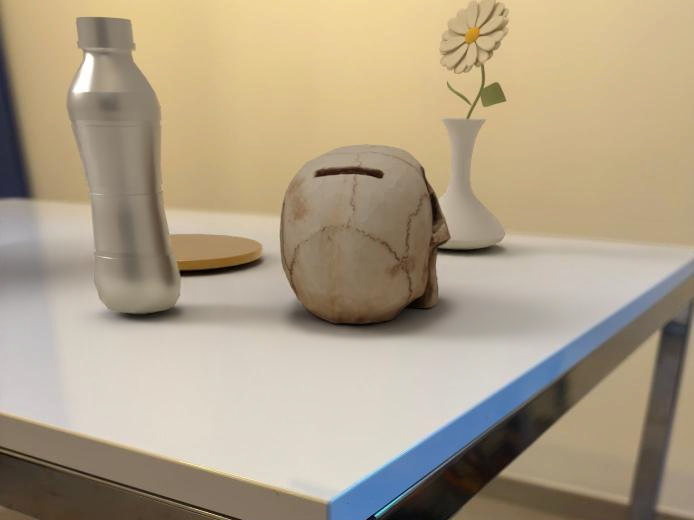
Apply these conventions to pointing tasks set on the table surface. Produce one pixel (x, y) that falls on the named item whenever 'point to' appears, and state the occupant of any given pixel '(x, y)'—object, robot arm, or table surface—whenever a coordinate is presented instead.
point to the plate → (213, 251)
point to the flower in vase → (470, 121)
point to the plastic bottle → (122, 170)
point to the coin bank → (362, 234)
